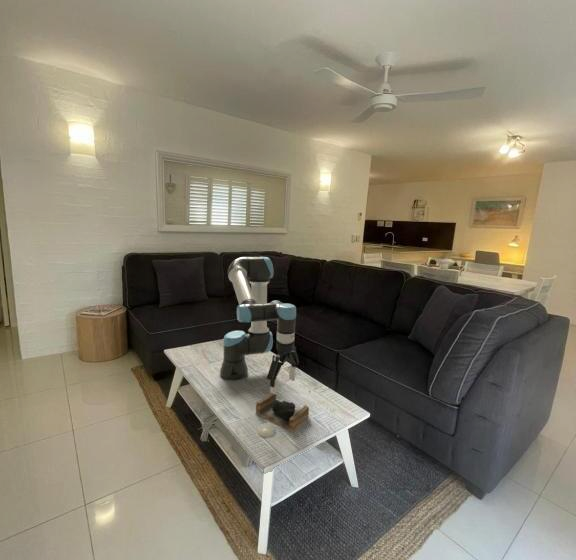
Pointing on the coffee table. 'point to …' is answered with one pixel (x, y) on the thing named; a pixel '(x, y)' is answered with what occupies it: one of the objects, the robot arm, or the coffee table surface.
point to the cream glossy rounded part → (266, 430)
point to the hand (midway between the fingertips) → (282, 386)
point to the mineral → (284, 409)
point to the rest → (266, 411)
